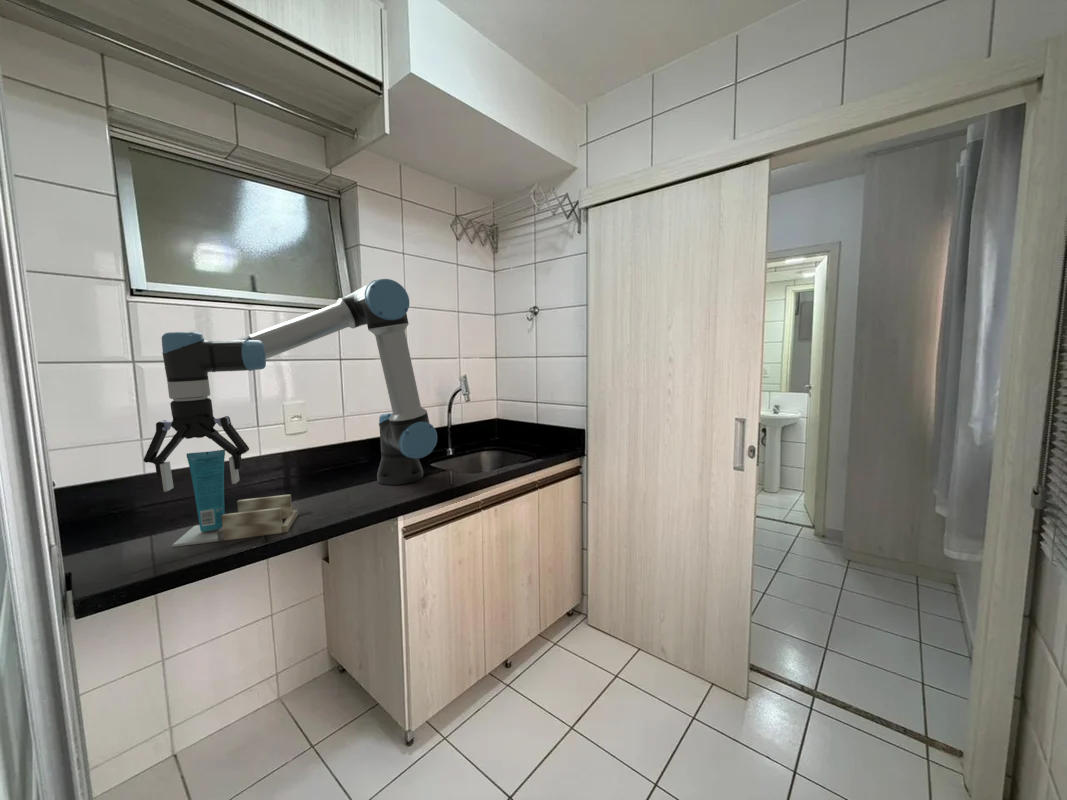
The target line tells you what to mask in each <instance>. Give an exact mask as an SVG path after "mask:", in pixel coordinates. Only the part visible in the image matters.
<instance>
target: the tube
mask: <svg viewBox="0 0 1067 800" xmlns="http://www.w3.org/2000/svg"><path fill="white" fill-rule="evenodd" d="M225 456H226V451H225V450H224V449H218V450H210V451H200V452H199V451H198V452H197V451H196V452H188V453H186V458H187V459H186V460H187V463H188V467H189V471H190V476H191V481H192V486H193V491H194V493H193V494H194V498H195V499H194V500H195V505H196V511H197V516H198V518H197V519H198V524H199V525H200V531H201V532H205V531H212V530H216V529H220V528H221V527H222V526H223V525H222V515H223V514H226V511H225V509H226V508H225V506H226V505H225V459H226V458H225Z"/></svg>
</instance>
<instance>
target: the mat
mask: <svg viewBox="0 0 1067 800" xmlns="http://www.w3.org/2000/svg"><path fill="white" fill-rule="evenodd" d="M218 530H219V529H216V530H212V531H205V532H201V531H200V525H194V526H192V528H190V529H189V530H188V531H186V532H185V533H184V534H183V535H182V536H180V537H179V538H178V539H177V540H176V541H175V542H174V543H173V544H172V547H173V548H175V547H176V548H177V547H183V546H191V545H198V544H207V543H214V542H215V543H216V542H219V541H218V535H217V531H218Z"/></svg>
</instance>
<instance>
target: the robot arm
mask: <svg viewBox="0 0 1067 800" xmlns="http://www.w3.org/2000/svg"><path fill="white" fill-rule="evenodd" d="M409 308H410V296H409V294H408V292H407V290H406V289H405V287H404V286H402V284H400V283H399V282H397V281H395V280H393V279H389V278H381V279H376V280H372V281H371V282H369V283H367V284H365V285H362V286H361V287H360V288H358V289H357V290H355V291H353V292H352V293H350V294H348V295H346V296H342V297H340V298H338V299H337V301H336V303H334V304H331V305H328V306H326V307H324V308H321V309H317V310H314V311H312V312H309V313H305V314H304V315H301V316H298V317H295V318H292V319H290V320H286V321H284V322H282V323H277V324H276V325H273V326H270V327H267V328H265V329H262V330H259V331H257V332H254V333H250V334H248V335H245V336H241V337H240V338H236V339H231V340H229V339H228V340H206V339H205V337H204V336H203V334H202V333H201V332H197V331H196V332H195V331H188V332H186V331H173V332H165V333H164V334H163V335H162V336H161V347H162V349H161V351H162V353H161V354H162V358H163V359H162V360H163V364H164V370H165V375H166V381H167V382H166V383H167V390H168V391H167V392H168V397H169V399H170V400H171V401H170V403H169V404H170V410H171V412H170V413H171V416H172V421H167V419H165V420H161V421H157V422H156V423H155V433H154V436H153V437H152V440H151V442H150V444H149V446H148V449H147V451H146V453H145V456H144V457H143V462H144V463H146V464H147V463H151V464H153V465H154V466H155V472H156V476H157V477H158V478H161V480H162V481H161V482H162V488H163V493H165V492H169V491H171V490H172V489H174V482H173V480H174V479H173V475H172V469H171V468H172V467H171V461H167V459H168V458H169V456H170V455H171V454H172V453H173V451H174V450H175V449H176V448H177V447H178V446H179V444H180V443H181V442H182V441H183V440H184V439H186V440H188V439H193V438H197V439H200V438H204V437H206V438H208V439H209V440H211V441H213V442H214V443H215V444H216V445H218V446H219V447H220V448H222V450H225V452H226V453H228V454H230V457H228V461H229V462H228V463H229V472H230V479H231V484H232V485H236V484H237V483H238V482H239V481H240V474H239V473H240V472H239V470H240V469H242V467H243V461H242V454H243V455H244V454H246V453H247V452H248V451H250V447H249V446H248V444H247V443H246V442H245V441H244V438H242V437H241V435H240V434H239V432H238V431H237V430H236V429H235V427H234V426H233V425H232V420H231V418H230V416H228V415H225V416H222V417H217V418H215V416H214V410H213V404H212V403H213V402H212V399H211V398H209V397H210V396H211V389H210V382H209V379H210V378H209V373H217V372H219V373H220V372H242V371H244V372H245V371H249V372H252V371H256V370H264V369H265V368H266V366H267V359H269V358H273V357H275V356H278V355H280V354H282V353H285V352H289V351H290V350H294V349H296V348H298V347H300V346H304V345H306V344H308V343H311V342H313V341H315V340H318V339H321V338H324V337H326V336H329V335H332V334H334V333H336V332H339V331H342V330H344V329H347V328H351V329H356V328H358V327H362V326H364V325H366V326H367V330H368V331H369V333H370V332H371V333H372V334H374V336H375V341H376V345H377V349H378V354H379V358H380V363H381V367H382V373H383V375H384V379H385V385H386V389H387V394H388V399H389V402H390V405H391V410H392V411H391V413H389V412H388V413H383V414H381V415H380V416H379V417H378V418H379V420H378V421H379V422H378V427H379V440H380V456H381V459H380V462H379V466H378V468H377V473H376V479H377V482H378V483H379V484H382V485H388V486H389V485H391V486H392V485H393V486H394V485H395V486H396V485H407V484H410V483H413V482H417V481H420V480H421V479H422V478H423V477H424V470H423V467H422V464H421V462H420V459H422V458H425V457H427V456H428V455H430V454H431V453H432V452H433V451H434V448H435V447H436V446H437V443H438V433H437V430H436V428H435V427H434V425H433V424H431V423H430V419H429V413H428V410H427V409H425V408H424V407H422V406H421V405H422V404H421V401H420V396H419V391H418V387H417V386H418V385H417V382H416V378H415V377H416V376H415V373H414V367H413V363H412V357H411V353H410V348H409V344H408V339H407V336H406V330H407V329H406V328H407V327H408V325H409V324H410V323H409V319H408V311H409ZM216 424H217V425H218V426H219V427H221V428H222V430H223V431H224V433H225V435H227V437H228V438H229V439H230V440H231V441H229V440H228V439H227V438H225V437H224V436H223V435H222V434H220V432H219V431H218V430H217V429H215V428H214V427H215V426H216ZM171 428H172V429H174V431H176V433H175V434H174V435H172V437H171V439H170V440H169V442H168V443H167V444H166V446H165V447H164V448H163V449H162V450H161V451H160V449H161V447H162V445H163V442H164V440H165V438H166V436H167V433H168V431H169V430H170V429H171ZM159 451H160V453H159Z"/></svg>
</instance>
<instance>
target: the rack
mask: <svg viewBox="0 0 1067 800" xmlns="http://www.w3.org/2000/svg"><path fill="white" fill-rule="evenodd" d="M236 504H237V512H229V513H225V514H223V515H222V525H223V526H222V527H221V528H220V529H219V530H218V531H217V535H218V541H217V542H222V541H223V542H224V541H231V540H237V539H245V538H253V537H258V536H268V535H277V534H282V533H288V532H289V531H290V529H291V527H292V525H293V524H294V522H295V520H296V519H297V517H298V516H299V515H298V513H299V512H298V509H293V503H292V494H291V493H290V494H281V495H280V494H279V495H271V496H262V497H255V498H254V497H252V498H245V499H244V498H243V499H238V500H237V501H236ZM283 519H285V521H283Z"/></svg>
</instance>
